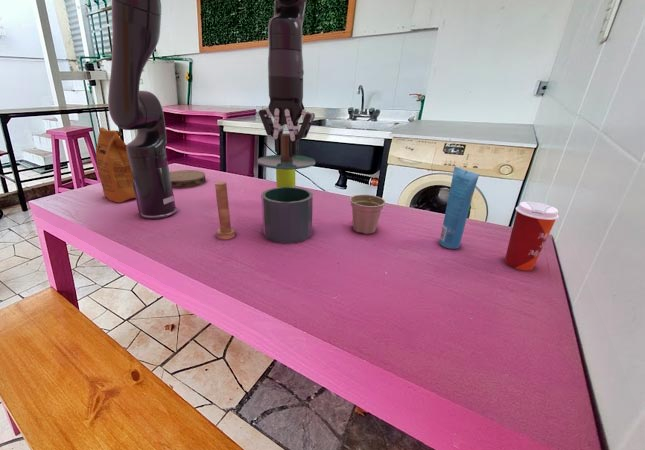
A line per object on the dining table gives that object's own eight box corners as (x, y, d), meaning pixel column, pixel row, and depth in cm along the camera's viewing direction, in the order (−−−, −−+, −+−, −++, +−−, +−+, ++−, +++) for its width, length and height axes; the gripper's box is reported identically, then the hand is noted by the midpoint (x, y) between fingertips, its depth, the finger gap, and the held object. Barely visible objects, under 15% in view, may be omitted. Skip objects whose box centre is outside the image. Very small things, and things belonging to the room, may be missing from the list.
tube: (467, 249, 74) (487, 173, 66) (453, 253, 72) (472, 175, 64) (444, 237, 80) (460, 165, 72) (431, 240, 78) (445, 167, 71)
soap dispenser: (297, 203, 101) (297, 142, 93) (293, 210, 95) (293, 145, 86) (280, 201, 101) (278, 141, 93) (275, 209, 95) (273, 144, 87)
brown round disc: (176, 176, 126) (175, 169, 125) (212, 178, 124) (211, 171, 123) (152, 187, 111) (151, 179, 110) (193, 189, 110) (192, 181, 109)
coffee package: (132, 189, 108) (117, 125, 99) (148, 197, 101) (133, 129, 92) (100, 196, 101) (80, 127, 92) (115, 205, 94) (95, 132, 85)
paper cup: (539, 277, 64) (562, 216, 58) (498, 266, 67) (516, 208, 62) (538, 261, 70) (559, 205, 64) (500, 252, 74) (517, 198, 68)
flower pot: (388, 229, 83) (392, 200, 80) (368, 240, 77) (372, 209, 74) (361, 220, 89) (363, 192, 86) (340, 229, 83) (342, 199, 79)
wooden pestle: (213, 237, 76) (206, 183, 70) (225, 230, 80) (219, 179, 74) (227, 240, 74) (221, 186, 69) (238, 234, 78) (234, 181, 72)
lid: (245, 166, 69) (243, 135, 66) (276, 156, 81) (276, 129, 78) (299, 174, 65) (299, 141, 62) (323, 162, 76) (325, 133, 73)
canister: (253, 236, 77) (251, 197, 73) (279, 219, 88) (278, 184, 83) (298, 247, 72) (298, 206, 68) (319, 227, 83) (320, 191, 79)
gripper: (248, 73, 64) (252, 155, 71) (307, 75, 59) (306, 162, 66) (267, 75, 70) (270, 150, 77) (322, 77, 65) (319, 156, 73)
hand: (286, 155), depth 72 cm, fingers closed on lid, 3 cm apart
